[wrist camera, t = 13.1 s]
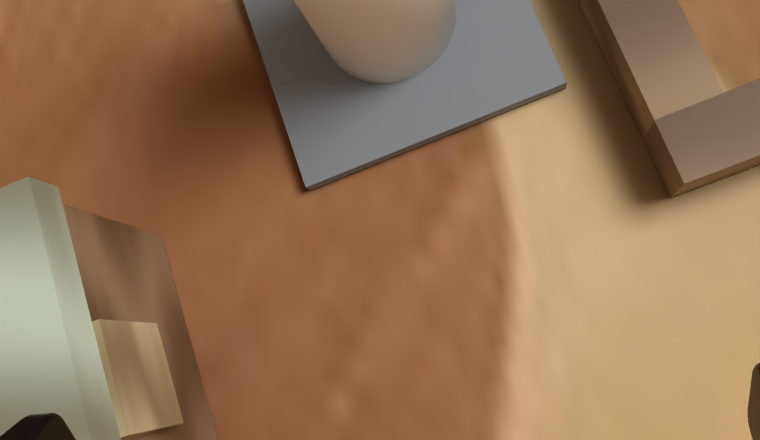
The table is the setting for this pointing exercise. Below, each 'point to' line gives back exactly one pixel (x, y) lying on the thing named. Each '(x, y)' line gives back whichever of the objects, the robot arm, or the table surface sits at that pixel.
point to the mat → (399, 85)
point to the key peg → (382, 35)
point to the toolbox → (92, 325)
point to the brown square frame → (676, 93)
